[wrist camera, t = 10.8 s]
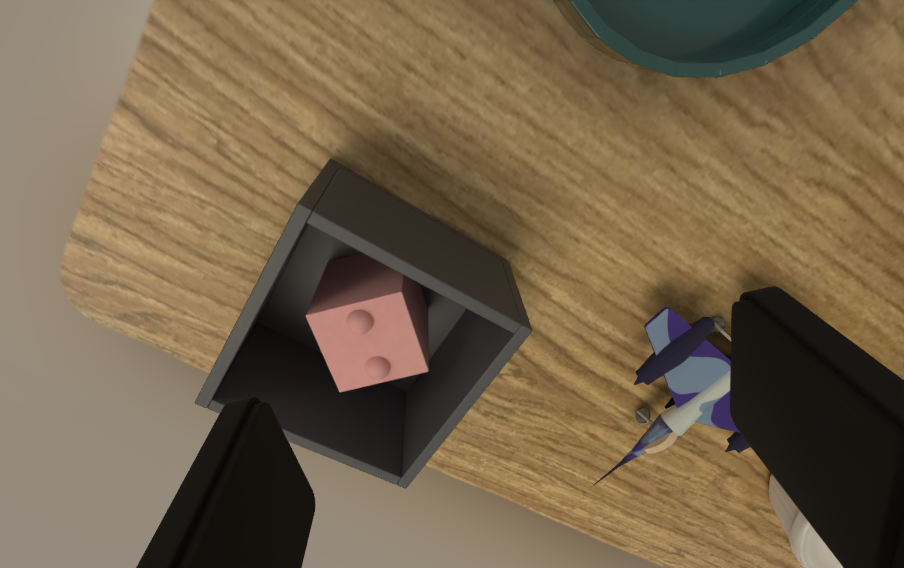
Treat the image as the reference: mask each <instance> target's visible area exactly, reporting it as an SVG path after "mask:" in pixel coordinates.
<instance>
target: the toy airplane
mask: <svg viewBox="0 0 904 568" xmlns="http://www.w3.org/2000/svg"><path fill="white" fill-rule="evenodd" d="M724 326H725V321H724V320H723V319H722V318H721V317H714V318H709V317H703V318H701V319H699V320H698V321H696V322H694V323H692V324H690V325H689V324H688V323H687V322H686V321H685V320H684V319H682V318H681V317H680V316H679V315H678V314H677V313H676V312H674V311H673V310H672V309H671V308H670V307H664V308H663V309H662V310H661V311H660V312H658V313H657V314H656V315H655V316H654V317H653V318H652V319H650V320H649V321H648V322H647V323H646V324H645V326H644V327H645V330H646V332H647V335H648V337H649V340H650V342H651V345H652V347H653V350H654V352H653V354H652V355H651V356H650V357H649V358H648V359H647V360H646V361H645V363H644V364H643V365H642V366H641V367H640V368H639V369H638V370H637V371H636V374H637V375H638V377H637V380H636V382H635V384H634V385H636V384H639V383H642V382H644V383H645V384H647V385H649V384H650V383H651V382H653V381H654V380H656V379H658V378H659V377H661V376H663V375H664V377H665V380H666V382H667V385H668V387H669V390H670V392H671V395H672V398H671V399H670V401H669V402H668V403H667V404H666V406H665V408H666V409H667V408H669V407H671V406H673V405H675V406H673V407H671V408H669V409H668V410H666V411H664V412H663V413H661V414H660V415H659V416H658V418H657V419H656V420H655V421H654V422H653V421H651V420H650V419H649V418H650V411H649V410H648V409H647V408H641V409H639V410H638V411H637V412H636V416H635V417H636V420H637V421H638V422H639V423H645V422H648V423H649V424H651V426H650V428H649V429H648V430H647V431H646V433H645V434H644V435H643V436H642V437H641V439H640V440H639V441H638V443H637V444H636V445H635V446H634V448H633V449H632V450H631V451H630V452H629V453H628V454H627V455H626V456H625V457H624V458H623V460H622V461H621V462H620V463H619V464H618V465H617V466H615V467H614V468H613V469H612V470H611V471H609V472H608V473H607V474H606V475H605V476H603V477H602V478H601V479H600V480H602V479H603V478H604V477H606V476H607V475H609V474H610V473H611V472H613V471H614V470H615V469H617V468H618V467H620V466H621V465H623V464H625V463H627V462H628V461H630V460H632V459H634V458H636V457H637V456H639V455H642V454H644V453H646V452H647V453H648V454H653V453H656V452H660V451H663V450H665V449H667V448H668V447H669V446H670V445H672V444H673V442H674V441H675V440H676V438H678V437H680V436H682V435H683V434H684V433H685V431H686V430H687V429H688V428H689V427H690V426H691V425H692V424H693V423H694V422H697V423H701V424H705V425H709V426H714V427H718V428H722V429H726V430H730V431H735V433H734V434H733V435H732V436H731V437H729V438H728V439H727V441H728V442H729V446H728V448H727V449H726V451H725V452H727V451H732V450H736V451H737V452H738V453H740V452H742V451H743V450H745V449H747V448H749V447H751V446H750V445H749V444H748V442H747V441H746V440H745V438H744V437H743V436H742V434H741V433H740V432H739V430H738V429H737V428H736V426H735V424H734V422H733V420H732V417H731V414H730V367H731V357H730V356H729V355H727V354H723V353H721V352H720V351H719V350H718V349H717V348H716V347H715V346H713V345H712V344H711V343H710V342H709V341H708V340H707V339H706V338H707V336H708V335H709V334H710V333H711V332H712V333H717V332H719V331H720V332H721V333H722V334H723V335H724V336H725V337H727V338H728V339H729V340H730V341H731V337H730V336H729V335H728V334H727V333H726V332H725V331H724V330H722V329H723V328H724ZM600 480H599V481H600ZM599 481H598V482H599ZM598 482H596V483H598ZM596 483H595V484H596ZM595 484H594V485H595ZM590 488H591V487H590Z"/></svg>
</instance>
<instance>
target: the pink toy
mask: <svg viewBox="0 0 904 568" xmlns="http://www.w3.org/2000/svg"><path fill="white" fill-rule="evenodd" d="M306 318H307V320H308V323H309V325H310V327H311V329H312V332H313V334H314V336H315V338H316V341H317V343H318V345H319V347H320V349H321V352H322V354H323V356H324V358H325V361H326V363H327V365H328V367H329V370H330V372H331V374H332V376H333V379H334V381H335V383H336V385H337V388H338V390H339V392H344V391H348V390H353V389H357V388H361V387H365V386H370V385H374V384H378V383H382V382H387V381H391V380H395V379H399V378H404V377H408V376H412V375H416V374H420V373H425V372H428V371H429V346H428V308H427V305H426V301H425V298H424V295H423V292H422V289H421V286H420V283H418V282H416V281H414V280H412V279H411V278H409V277H407V276H405V275H403V274H401V273H399V272H397V271H396V270H394V269H392V268H390V267H388V266H386V265H384V264H382V263H381V262H379V261H377V260H375V259H373V258H371V257H369V256H367V255H366V254H364V253H358V254H354V255H351V256H347V257H343V258H339V259H335V260H331V261H328V263H327V265H326V267H325V270H324V272H323V275H322V277H321V279H320V282H319V284H318V287H317V289H316V291H315V294H314V296H313V299H312V301H311V303H310V306H309V308H308V311H307V313H306Z"/></svg>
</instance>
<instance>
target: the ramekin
mask: <svg viewBox="0 0 904 568" xmlns="http://www.w3.org/2000/svg"><path fill="white" fill-rule="evenodd" d="M769 498H770V502H771V505H772V507H773V510H774V512H775V514H776V516H777V518H778V520H779V521H780V523H781V525H782V527H783V529H784V531H785V533H786V535H787V537H788V539H789V541H790V545H791V549H792V552H793V554H794V555H795V557H796V559H797V560H798V561H799V563H800V564H801V565H802V566H803V568H843V567H842V565H841V564H840V563H839V561H838V560H837V559H836V557H835V556H834V555H833V553H832V552H831V551H830V550H829V548H828V547H827V546H826V544H825V543H824V542H823V540H822V539H821V538H820V536H819V535H818V534H817V533H816V531H815V530H814V529H813V527H812V526H811V525H810V523H809V522H808V521H807V519H806V518H805V517H804V516H803V514H802V513H801V512H800V510H799V509H798V508H797V506H796V505H795V504H794V502H793V501H792V500H791V499H790V497H789V496H788V495H787V493H786V492H785V491H784V489H783V488H782V487H781V485H780V484H779V483H778V482H777V480H776V479H775V478H774V476H773V475H772V474H771V476H770V482H769Z"/></svg>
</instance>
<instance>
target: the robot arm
mask: <svg viewBox="0 0 904 568" xmlns="http://www.w3.org/2000/svg"><path fill="white" fill-rule="evenodd" d="M730 414H731V417H732V420H733V422H734V424H735V426H736V428H737V429H738V430H739V432H740V433H741V434H742V436H743V437H744V438H745V440H746V441H747V442H748V444H749V445H750V446H751V448H752V449H753V450H754V451H755V453H756V454H757V455H758V457H759V458H760V459H761V461H762V462H763V463H764V465H765V466H766V467H767V468H768V470H769V471H770V472H771V474H772V475H773V476H774V478H775V479H776V480H777V482H778V483H779V484H780V485H781V487H782V488H783V489H784V491H785V492H786V493H787V495H788V496H789V497H790V499H791V500H792V501H793V502H794V504H795V505H796V506H797V508H798V509H799V510H800V512H801V513H802V514H803V516H804V517H805V518H806V519H807V521H808V522H809V523H810V525H811V526H812V527H813V529H814V530H815V531H816V533H817V534H818V535H819V536H820V538H821V539H822V540H823V542H824V543H825V544H826V546H827V547H828V548H829V550H830V551H831V552H832V553H833V555H834V556H835V557H836V559H837V560H838V561H839V563H840V564H841V565H842V567H843V568H904V380H902V379H901V378H900V377H898V376H897V375H896V374H894V373H893V372H892V371H890V370H889V369H888V368H886V367H885V366H884V365H882V364H881V363H880V362H878V361H877V360H876V359H874V358H873V357H872V356H870V355H869V354H868V353H866V352H865V351H864V350H862V349H861V348H860V347H858V346H857V345H856V344H854V343H853V342H852V341H850V340H849V339H848V338H846V337H845V336H843V335H842V334H841V333H839V332H838V331H837V330H835V329H834V328H833V327H831V326H830V325H829V324H827V323H826V322H825V321H823V320H822V319H821V318H819V317H818V316H817V315H815V314H814V313H813V312H811V311H810V310H809V309H807V308H806V307H805V306H803V305H802V304H801V303H799V302H798V301H797V300H795V299H794V298H793V297H791V296H790V295H789V294H787V293H786V292H785V291H783V290H782V289H780V288H778V287H777V286H772V287H767V288H763V289H758V290H753V291H749V292H744V293H743V294H742V295H741V297H740V300H739V301H738V302H735V303H733V305H732V317H731V367H730ZM314 512H315V497H314V493H313V490H312V488H311V486H310V484H309V482H308V480H307V478H306V476H305V474H304V472H303V470H302V468H301V466H300V464H299V463H298V460H297V458H296V456H295V454H294V452H293V450H292V448H291V446H290V444H289V442H288V440H287V438H286V436H285V434H284V432H283V430H282V428H281V426H280V424H279V422H278V420H277V418H276V416H275V414H274V412H273V410H272V408H271V406H270V405H269V404H268V403H267V402H261V401H260V400H259V399H258V398H257V397H252V398H247V399H242V400H238V401H233V402H229V403H227V404H225V406H224V407H223V409H222V411H221V412H220V414H219V416H218V418H217V420H216V422H215V423H214V425H213V428H212V429H211V431H210V433H209V435H208V437H207V438H206V440H205V442H204V444H203V446H202V447H201V449H200V451H199V453H198V455H197V457H196V459H195V461H194V462H193V464H192V466H191V468H190V470H189V471H188V473H187V475H186V477H185V479H184V481H183V483H182V484H181V486H180V488H179V490H178V492H177V494H176V496H175V498H174V499H173V501H172V503H171V505H170V507H169V509H168V510H167V512H166V514H165V516H164V518H163V520H162V521H161V523H160V525H159V527H158V529H157V531H156V533H155V534H154V536H153V538H152V540H151V542H150V543H149V545H148V547H147V549H146V551H145V553H144V555H143V556H142V558H141V560H140V562H139V564H138V566H137V567H136V568H301V567H302V562H303V558H304V554H305V550H306V546H307V541H308V537H309V533H310V529H311V525H312V520H313V516H314Z"/></svg>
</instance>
